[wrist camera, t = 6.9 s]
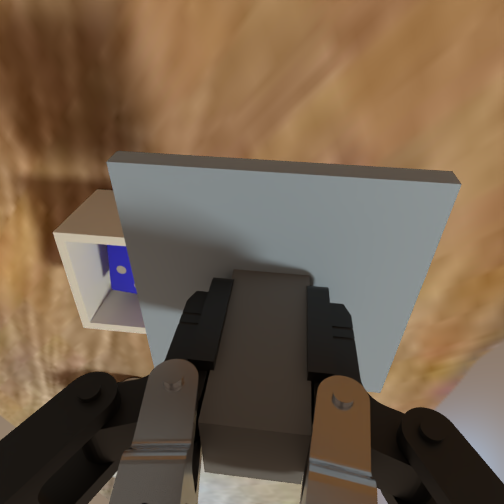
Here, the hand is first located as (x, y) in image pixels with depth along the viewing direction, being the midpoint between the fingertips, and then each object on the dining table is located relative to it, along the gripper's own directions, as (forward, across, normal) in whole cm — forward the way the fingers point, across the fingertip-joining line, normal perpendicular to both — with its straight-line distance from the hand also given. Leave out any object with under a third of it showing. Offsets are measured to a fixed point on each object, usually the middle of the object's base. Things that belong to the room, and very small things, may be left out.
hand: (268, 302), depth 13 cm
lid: (+1, 0, 0) cm, 1 cm away
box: (+18, +11, +10) cm, 23 cm away
